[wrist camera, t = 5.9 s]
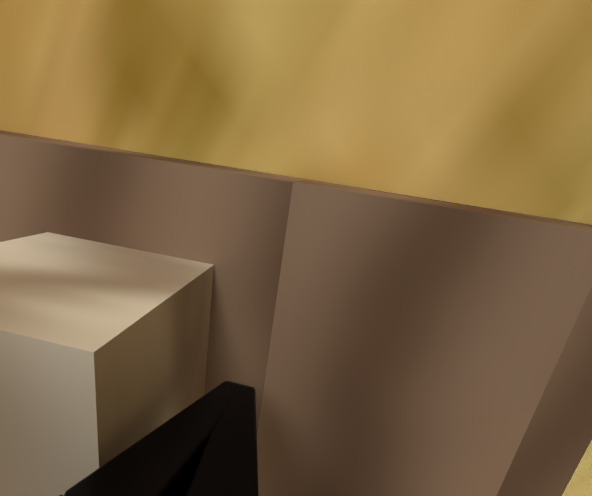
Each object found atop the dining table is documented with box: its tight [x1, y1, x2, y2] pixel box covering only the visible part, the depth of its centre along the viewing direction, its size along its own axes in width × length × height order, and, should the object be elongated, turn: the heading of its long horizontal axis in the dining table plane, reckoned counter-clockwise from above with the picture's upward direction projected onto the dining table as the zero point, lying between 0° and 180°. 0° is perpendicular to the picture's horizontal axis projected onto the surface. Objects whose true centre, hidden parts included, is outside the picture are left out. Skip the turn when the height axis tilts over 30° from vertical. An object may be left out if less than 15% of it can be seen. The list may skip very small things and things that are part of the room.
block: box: [0, 232, 214, 496], centre depth 7 cm, size 5×5×4 cm
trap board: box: [0, 131, 592, 496], centre depth 12 cm, size 27×24×2 cm
